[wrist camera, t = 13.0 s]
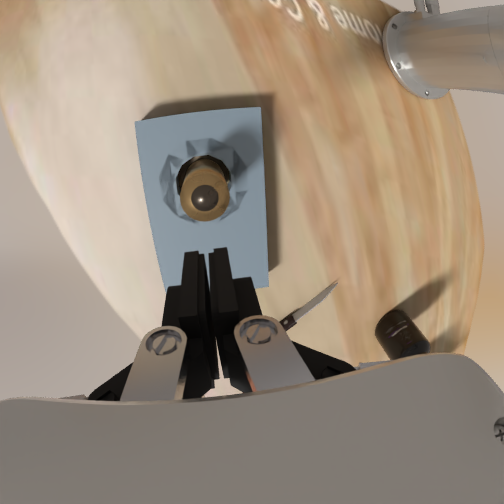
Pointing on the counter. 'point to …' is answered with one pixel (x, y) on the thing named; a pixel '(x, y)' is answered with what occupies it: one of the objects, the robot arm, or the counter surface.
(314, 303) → the kitchen knife
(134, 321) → the counter surface
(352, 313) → the counter surface
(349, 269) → the counter surface
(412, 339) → the supplement bottle
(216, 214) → the amber peg
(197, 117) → the plate
